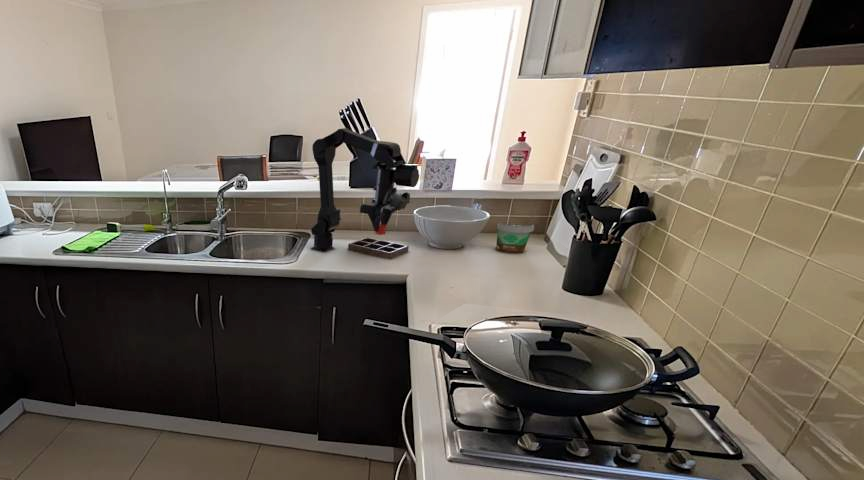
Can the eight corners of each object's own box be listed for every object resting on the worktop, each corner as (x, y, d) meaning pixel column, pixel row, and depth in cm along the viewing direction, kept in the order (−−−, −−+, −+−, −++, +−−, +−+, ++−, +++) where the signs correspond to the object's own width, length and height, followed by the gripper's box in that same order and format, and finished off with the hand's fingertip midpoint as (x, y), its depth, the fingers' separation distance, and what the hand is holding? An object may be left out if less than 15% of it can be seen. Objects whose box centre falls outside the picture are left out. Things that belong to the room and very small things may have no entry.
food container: (492, 253, 183) (498, 225, 179) (491, 248, 188) (497, 221, 184) (529, 255, 179) (536, 227, 174) (528, 251, 184) (535, 223, 179)
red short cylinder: (371, 233, 176) (372, 224, 174) (378, 231, 178) (379, 222, 176) (381, 235, 173) (382, 226, 172) (387, 233, 175) (388, 224, 174)
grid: (347, 249, 193) (348, 243, 191) (366, 242, 200) (367, 237, 199) (389, 259, 181) (390, 253, 179) (408, 251, 188) (408, 245, 187)
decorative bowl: (398, 247, 194) (401, 215, 188) (425, 232, 211) (430, 203, 205) (468, 259, 178) (475, 225, 172) (492, 242, 196) (499, 210, 190)
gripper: (390, 191, 157) (384, 240, 164) (421, 183, 168) (414, 229, 175) (360, 186, 164) (356, 234, 172) (392, 179, 175) (387, 224, 182)
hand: (379, 230), depth 175 cm, fingers closed on red short cylinder, 4 cm apart
